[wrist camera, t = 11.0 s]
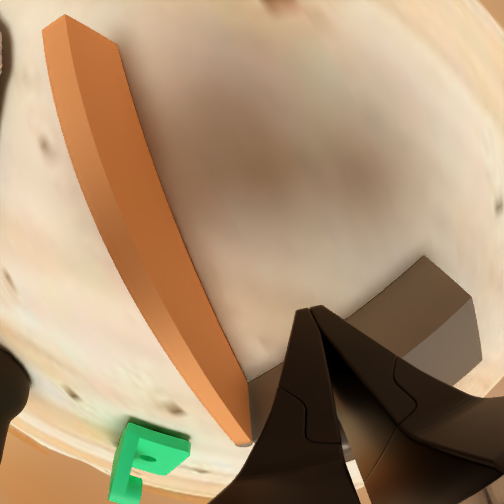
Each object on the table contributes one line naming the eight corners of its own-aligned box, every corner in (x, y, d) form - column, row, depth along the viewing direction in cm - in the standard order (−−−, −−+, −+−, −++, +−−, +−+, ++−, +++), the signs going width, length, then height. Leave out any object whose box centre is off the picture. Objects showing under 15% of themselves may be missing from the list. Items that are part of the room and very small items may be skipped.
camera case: (450, 321, 22) (493, 374, 15) (309, 418, 26) (323, 480, 19) (424, 255, 18) (490, 315, 11) (247, 383, 23) (253, 464, 15)
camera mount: (166, 461, 31) (161, 520, 22) (116, 446, 29) (104, 504, 20) (193, 434, 27) (190, 511, 18) (130, 414, 25) (113, 492, 16)
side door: (117, 44, 11) (64, 14, 6) (249, 386, 22) (254, 445, 17) (90, 59, 11) (31, 38, 6) (229, 390, 22) (230, 448, 17)
